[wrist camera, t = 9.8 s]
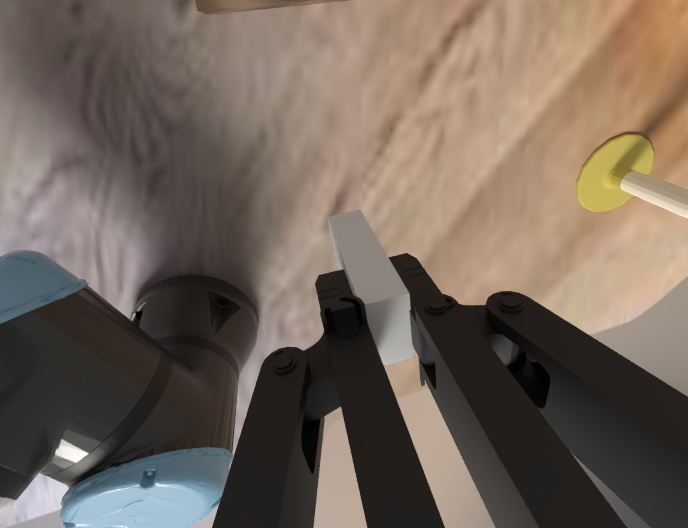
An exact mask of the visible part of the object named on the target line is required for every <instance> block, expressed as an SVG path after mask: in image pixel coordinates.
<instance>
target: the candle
mask: <svg viewBox="0 0 688 528" xmlns="http://www.w3.org/2000/svg"><path fill="white" fill-rule="evenodd" d="M653 158H654V152H653V149H652V146H651V143H650V141H648V140H647V139H645V138H644V137H642V136H641V135H639V134H623V135H620V136H618V137H615V138H613V139H610V140H608V141H607V142H606V143H604V144H603V145H602V146H600V147H599V148H598V149H597V150H595V151H594V152H593V153H592V155H591V156H590V157H589V159H588V160H587V161H586V163H585V164H584V165H583V167H582V169H581V172H580V174H579V177H578V179H577V182H576V196H577V198H578V200H579V202H580V204H581V206H583V207H585V208H587V209H589V210H591V211H608V210H610V209H613V208H616V207H618V206H620V205H622V204H623V203H625V202H626V201H627V200H629V199H630V198H631V197H633V196H634V195H635V196H637V197H639V198H641V199H644V200H646V201H648V202H651V203H653V204H655V205H658V206H660V207H662V208H665V209H667V210H669V211H671V212H674V213H676V214H678V215H681V216H683V217H685V218H688V190H687V189H685V188H682V187H679V186H676V185H674V184H671V183H668V182H665V181H663V180H660V179H657V178H654V177H652V176H649V173H650V171H651V169H652V166H653Z"/></svg>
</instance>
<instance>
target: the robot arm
mask: <svg viewBox="0 0 688 528" xmlns="http://www.w3.org/2000/svg"><path fill="white" fill-rule="evenodd" d="M327 218H328V222H329V227H330V232H331V237H332V242H333V247H334V252H335V257H336V262H337V267H338V271H334V272H330V273H326V274H322V275H319V276H318V278H317V281H316V283H315V286H316V290H317V295H318V300H319V304H320V309H321V312H320V315H321V319H322V323H323V327H324V333H323V335H322V337H321V338H320V340H319V341H318V342H317V343H316V344H314V345H313V346H311V347H310V348H308V349H306V350H304V351H303V350H301V349H299V348H297V347H285V348H280V349H278V350H276V351H274V352H272V353H271V354H270V355H269V356H268V357H267V358H266V359H265V360H264V362H263V364H262V366H261V369H260V372H259V376H258V379H257V382H256V386H255V389H254V392H253V395H252V399H251V402H250V405H249V408H248V412H247V415H246V418H245V422H244V425H243V428H242V431H241V435H240V438H239V441H238V444H237V448H236V451H235V454H234V458H233V454H232V450H233V439H234V427H235V415H236V403H237V392H238V380H239V374H240V372H241V371H242V369H243V367H244V365H245V363H246V362H247V360H248V358H249V356H250V354H251V352H252V351H253V349H254V346H255V343H256V339H257V328H258V320H257V315H256V312H255V309H254V307H253V305H252V304H251V302H250V301H249V300H248V298H247V297H246V296H245V295H244V294H243V293H242V292H240V291H239V290H238V289H236V288H235V287H233V286H231V285H229V284H227V283H225V282H223V281H220V280H217V279H214V278H210V277H204V276H180V277H174V278H170V279H167V280H164V281H162V282H160V283H158V284H156V285H154V286H152V287H151V288H150V289H148V290H147V291H146V292H145V293H144V294H143V295H142V296H141V298H140V299H139V301H138V303H137V304H136V306H135V308H134V310H133V312H132V314H131V317H130V319H128V318H127V317H126V316H125V315H123V314H122V313H121V312H120V311H118V310H117V309H116V308H115V307H113V306H112V305H111V304H110V303H108V302H107V301H106V300H105V299H103V298H102V297H101V296H100V295H98V294H97V293H96V292H95V291H94V290H92V289H91V288H90V287H89V286H88V283H87V282H86V281H85V280H81V279H78V278H77V277H76V276H74V275H73V274H71V273H70V272H69V271H67V270H66V269H64V268H63V267H62V266H60V265H59V264H58V263H56V262H55V261H53V260H52V259H51V258H49V257H48V256H46V255H44V254H42V253H39V252H35V251H29V250H21V251H14V252H11V253H8V254H5V255H3V256H1V257H0V509H2V508H5V507H8V506H10V505H13V504H14V502H15V501H16V500H17V499H18V498H19V496H20V495H21V494H22V493H23V491H24V490H25V489H26V488H27V487H28V485H29V484H30V483H31V482H32V480H33V479H34V478H35V477H36V476H37V475H38V473H41V474H44V475H46V476H48V477H51V478H53V479H55V480H57V481H59V482H61V483H63V484H65V485H67V486H68V487H69V490H68V491H67V492H66V494H65V495H64V496H63V498H62V501H61V505H62V509H61V513H60V517H61V519H62V521H63V524H64V526H65V527H66V528H186V527H188V526H190V525H192V524H194V523H196V522H198V521H200V520H202V519H203V518H205V517H206V516H207V515H209V513H211V512H212V511H213V510H214V509H215V508H216V507H217V505H218V504H219V507H218V510H217V513H216V516H215V520H214V523H213V526H212V528H313V526H314V516H315V507H316V497H317V488H318V478H319V468H320V458H321V449H322V439H323V429H324V420H325V419H324V416H326V415H327V414H329V413H331V412H332V411H334V410H335V409H337V408H339V407H340V406H341V408H342V413H343V417H344V422H345V427H346V431H347V435H348V440H349V445H350V449H351V454H352V459H353V463H354V468H355V473H356V477H357V482H358V486H359V491H360V495H361V500H362V505H363V509H364V513H365V518H366V523H367V528H445V527H444V524H443V521H442V519H441V516H440V513H439V511H438V508H437V506H436V503H435V500H434V498H433V495H432V492H431V490H430V487H429V484H428V482H427V479H426V476H425V474H424V471H423V468H422V466H421V463H420V461H419V458H418V455H417V453H416V450H415V448H414V445H413V442H412V439H411V437H410V434H409V431H408V429H407V426H406V423H405V421H404V418H403V416H402V413H401V410H400V408H399V405H398V402H397V400H396V397H395V394H394V392H393V389H392V386H391V384H390V381H389V379H388V376H387V373H386V371H385V368H384V366H386V365H390V364H393V363H397V362H401V361H405V360H409V359H412V358H415V357H414V349H415V351H416V353H417V355H418V357H419V368H420V381H421V386H423V385H425V381H426V383H427V385H428V387H429V389H430V391H431V393H432V395H433V397H434V400H435V402H436V404H437V406H438V408H439V410H440V412H441V414H442V416H443V418H444V420H445V423H446V425H447V427H448V429H449V431H450V433H451V435H452V437H453V439H454V441H455V444H456V446H457V448H458V450H459V452H460V454H461V456H462V458H463V460H464V462H465V464H466V467H467V469H468V471H469V473H470V475H471V477H472V479H473V481H474V483H475V485H476V487H477V489H478V491H479V493H480V496H481V498H482V500H483V502H484V504H485V506H486V508H487V510H488V513H489V515H490V517H491V519H492V521H493V523H494V525H495V527H496V528H627V527H626V526H625V524H624V523H623V522H622V520H621V519H620V518H619V516H618V515H617V514H616V512H615V511H614V510H613V508H612V507H611V506H610V504H609V503H608V502H607V500H606V499H605V498H604V496H603V495H602V494H601V492H600V491H599V490H598V488H597V487H596V486H595V484H594V483H593V482H592V480H591V479H590V478H589V476H588V475H587V474H586V472H585V471H584V470H583V468H582V467H581V466H580V464H579V463H578V462H577V460H576V459H575V458H574V456H576V458H578V459H579V460H580V461H581V462H582V463H583V464H584V465H585V466H586V467H587V468H588V469H589V470H590V471H591V472H593V473H594V474H595V475H596V476H597V477H598V478H599V479H600V480H601V481H602V482H603V483H604V484H605V485H606V486H607V487H608V488H610V489H611V490H612V491H613V492H614V493H615V494H616V495H617V496H618V497H619V498H620V499H621V500H622V501H624V503H626V504H627V505H628V506H629V507H630V508H631V509H632V510H633V511H634V512H635V513H636V514H637V515H638V516H639V517H641V518H642V519H643V520H644V521H645V522H646V523H647V524H648V525H649V526H650V527H651V528H688V397H687V396H686V395H684V394H682V393H681V392H679V391H678V390H676V389H674V388H673V387H671V386H669V385H668V384H666V383H665V382H663V381H661V380H660V379H658V378H657V377H655V376H654V375H652V374H650V373H649V372H647V371H646V370H644V369H642V368H641V367H639V366H638V365H636V364H634V363H633V362H631V361H630V360H628V359H626V358H625V357H623V356H622V355H620V354H618V353H617V352H615V351H614V350H612V349H610V348H609V347H607V346H606V345H604V344H602V343H601V342H599V341H598V340H596V339H594V338H593V337H591V336H590V335H588V334H586V333H585V332H583V331H582V330H580V329H578V328H577V327H575V326H574V325H572V324H570V323H569V322H567V321H566V320H564V319H562V318H561V317H559V316H558V315H556V314H554V313H553V312H551V311H550V310H548V309H546V308H545V307H543V306H542V305H540V304H538V303H537V302H535V301H534V300H532V299H530V298H529V297H527V296H525V295H523V294H520V293H517V292H512V291H501V292H498V293H494V294H492V295H491V296H490V297H488V299H487V302H486V305H461V304H459V303H458V302H457V301H456V300H455V299H454V298H453V297H450V296H448V295H445V294H442V293H441V292H440V290H439V289H438V287H437V286H436V285H435V283H434V282H433V280H432V279H431V278H430V276H429V275H428V273H426V271H425V269H424V268H423V267H422V265H421V264H420V262H419V261H418V260H417V258H415V257H413V256H411V255H409V254H408V253H405V254H401V255H397V256H393V257H389V258H388V256H387V255H386V253H385V251H384V249H383V248H382V246H381V244H380V243H379V241H378V239H377V238H376V236H375V234H374V232H373V231H372V229H371V227H370V226H369V224H368V222H367V221H366V219H365V217H364V215H363V214H362V212H361V210H356V211H351V212H347V213H342V214H338V215H334V216H329V217H327ZM424 379H425V381H424ZM571 453H572V454H573V455H574V456H573V455H572V454H571ZM232 460H233V461H232ZM231 462H232V464H231ZM230 465H231V468H230V471H229V466H230ZM228 473H229V474H228Z"/></svg>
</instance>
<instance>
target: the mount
mask: <svg viewBox="0 0 688 528" xmlns="http://www.w3.org/2000/svg"><path fill="white" fill-rule="evenodd" d="M337 1H347V0H195V2H196V6H197V10H198V11H200V12H203V13H205V14H218V13H228V12H238V11H248V10H258V9H268V8H278V7H288V6H298V5H308V4H318V3H327V2H337Z"/></svg>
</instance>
